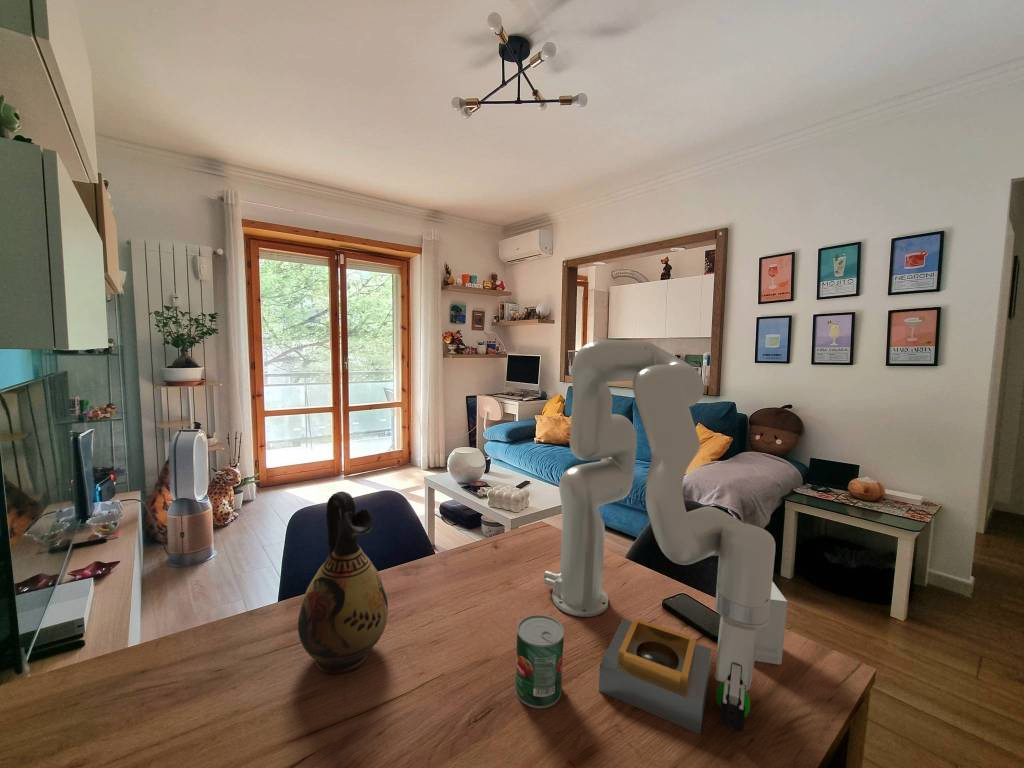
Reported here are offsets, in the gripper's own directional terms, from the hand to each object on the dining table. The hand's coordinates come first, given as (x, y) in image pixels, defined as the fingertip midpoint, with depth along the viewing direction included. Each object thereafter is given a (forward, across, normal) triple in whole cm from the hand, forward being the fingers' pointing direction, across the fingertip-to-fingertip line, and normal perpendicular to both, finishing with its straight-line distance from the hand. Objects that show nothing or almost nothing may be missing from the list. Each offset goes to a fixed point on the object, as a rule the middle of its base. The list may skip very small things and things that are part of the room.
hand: (732, 704), depth 71 cm
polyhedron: (+2, 0, 0) cm, 2 cm away
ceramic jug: (+2, +23, -64) cm, 68 cm away
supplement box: (+2, -19, +3) cm, 19 cm away
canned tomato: (+2, +12, -29) cm, 31 cm away
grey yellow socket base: (+1, -2, -12) cm, 12 cm away
